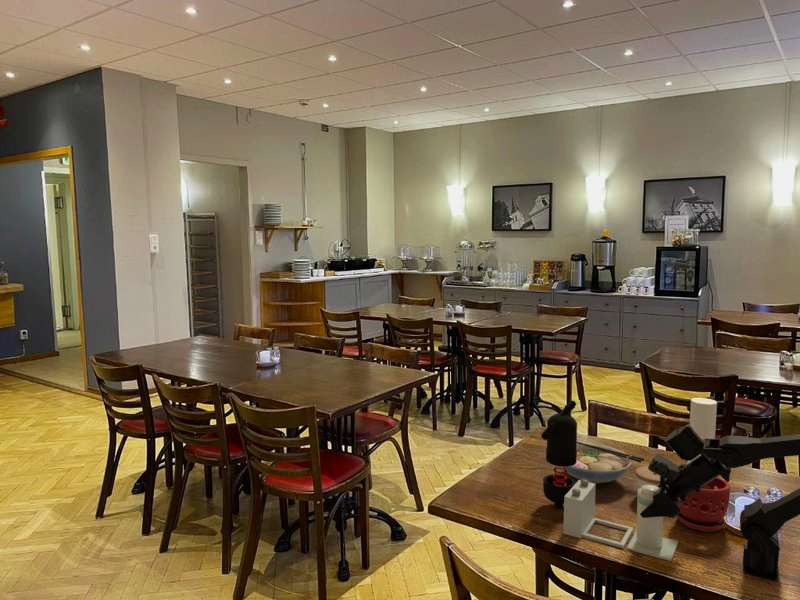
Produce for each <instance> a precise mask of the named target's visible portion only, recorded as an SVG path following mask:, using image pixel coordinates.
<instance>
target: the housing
mask: <svg viewBox="0 0 800 600" xmlns="http://www.w3.org/2000/svg"><path fill="white" fill-rule="evenodd" d="M596 485H597V484H594V483H590V482H588V480H585V479H582V480H579V479H577V481H576V484H575V485H574V486H573V487H572V488H571V490H570V491H569V492H568V493H567V494H566V495H565V496H564V504H563V535H568V536H571V537H575V538H577V539H581V538H584V539H587V540H591V541H595V542H597V543H602V544H605V545H608V546H613V547H616V548H620V549H623V550H624V549H625V547H626V545H627V544H628V542H629V540H630V537H631V536H632V535H633V533H634V528H635V527H631V526H629V525H624V524H621V523H617V522H612V521H609V520H605V519H602V518H596V517H595V511H596V509H595V508H596ZM595 524H599V525H604V526H606V527H611V528H615V529H619V530H621V531H622V530H623V531H626V532H625V534H624V536H623V538H622V540H621V541H620V542H619V541H615V540H612V539H609V538H604V537H600V536H598V535H594V534H591V533H589V532H590V531H591V530H592V528H593V527H594V525H595Z"/></svg>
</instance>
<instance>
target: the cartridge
mask: <svg viewBox="0 0 800 600" xmlns="http://www.w3.org/2000/svg"><path fill="white" fill-rule="evenodd" d="M658 489H659V487H657V486H653V485H643V486H642V487H641V488H640V489H637V493H636V497H637V498H636V500H637V506H636V507H637V509H636V530H637V535H636V542H637V543H638V544H639V545H640V546H642V547H645V548H649V549H658V548H661V547H662V544H663V536H664V517H649V518H642V516H641V515H640V513H641V512H642V511H643V510H644V509H645V508H646V507H647V506H648V505H649V504H650V503H651V502H652V501H653V494H654V492H656V491H657V490H658Z"/></svg>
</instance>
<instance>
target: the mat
mask: <svg viewBox="0 0 800 600" xmlns="http://www.w3.org/2000/svg"><path fill="white" fill-rule="evenodd" d="M636 535H637V529H636V530H635V532H634V534H633V536H632V537H631V539H630V541H629V543H628V545H627V547H626V550H629V551H633V552H636V553H640V554H644V555H647V556H650V557H655V558H657V559H660V560H661V559H662V560H665V561H669V562H672V561H673V560H672V559H673V557H674V555H675V552H676V549H677V547H678V544H679V541H678V540H674V539H672V538H671V539H670V538H668V537H663V544H662V547H661V548H658V549H649V548H645V547H642V546H640V545H639V544H638V543H637V542H636Z"/></svg>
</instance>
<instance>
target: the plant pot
mask: <svg viewBox="0 0 800 600" xmlns="http://www.w3.org/2000/svg"><path fill="white" fill-rule="evenodd" d="M705 486H707V487H709V489H707V488H704V487H705ZM715 487H716V488H715ZM730 493H731V486H730V484H729V482H726V481H725V480H724V479H723V478H722V477H720V476H718V477H717V478H715V479H714V480H712V481H710V482H709V483H707V484H706V485H704V486H703V487H701V491H699V492H698V493H697V492H696V491H695V492H693V493H692V494H690V495H689V496H687V500H685V501H684V502H683V501H682V500H681V499H680V498H677V499H678V500H679V501H680V502H681V511H680V515H678V516H676V517H677V519H678V521H679V522H680V523H681V524H683V525H684V526H686V527H688V528H691V529H693V530H695V531H700V532H711V533H714V532H716V531H720V530H721V529H723V528H724V527H725V526H726V523H727V522H726V519H725V518H724V517H725V515H726V513H727V511H728V509H729V508H728V507H729V503H730V495H731V494H730Z"/></svg>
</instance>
